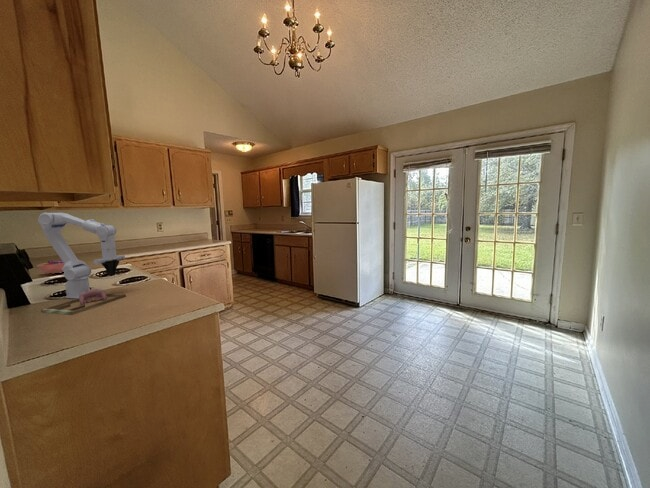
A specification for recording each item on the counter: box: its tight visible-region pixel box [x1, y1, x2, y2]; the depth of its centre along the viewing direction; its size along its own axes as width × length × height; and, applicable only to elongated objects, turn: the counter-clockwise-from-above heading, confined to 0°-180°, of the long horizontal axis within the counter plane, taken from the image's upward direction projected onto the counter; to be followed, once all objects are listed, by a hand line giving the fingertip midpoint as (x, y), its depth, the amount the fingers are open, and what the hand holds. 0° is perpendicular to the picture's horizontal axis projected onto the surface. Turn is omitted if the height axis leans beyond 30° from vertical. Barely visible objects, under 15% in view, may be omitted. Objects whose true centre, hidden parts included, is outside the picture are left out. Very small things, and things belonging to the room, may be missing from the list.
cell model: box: [36, 259, 65, 275], centre depth 197 cm, size 17×20×11 cm
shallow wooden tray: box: [40, 292, 127, 316], centre depth 128 cm, size 18×24×1 cm
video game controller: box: [78, 288, 108, 306], centre depth 131 cm, size 10×5×7 cm, turn 135°
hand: (112, 275), depth 140 cm, fingers closed
